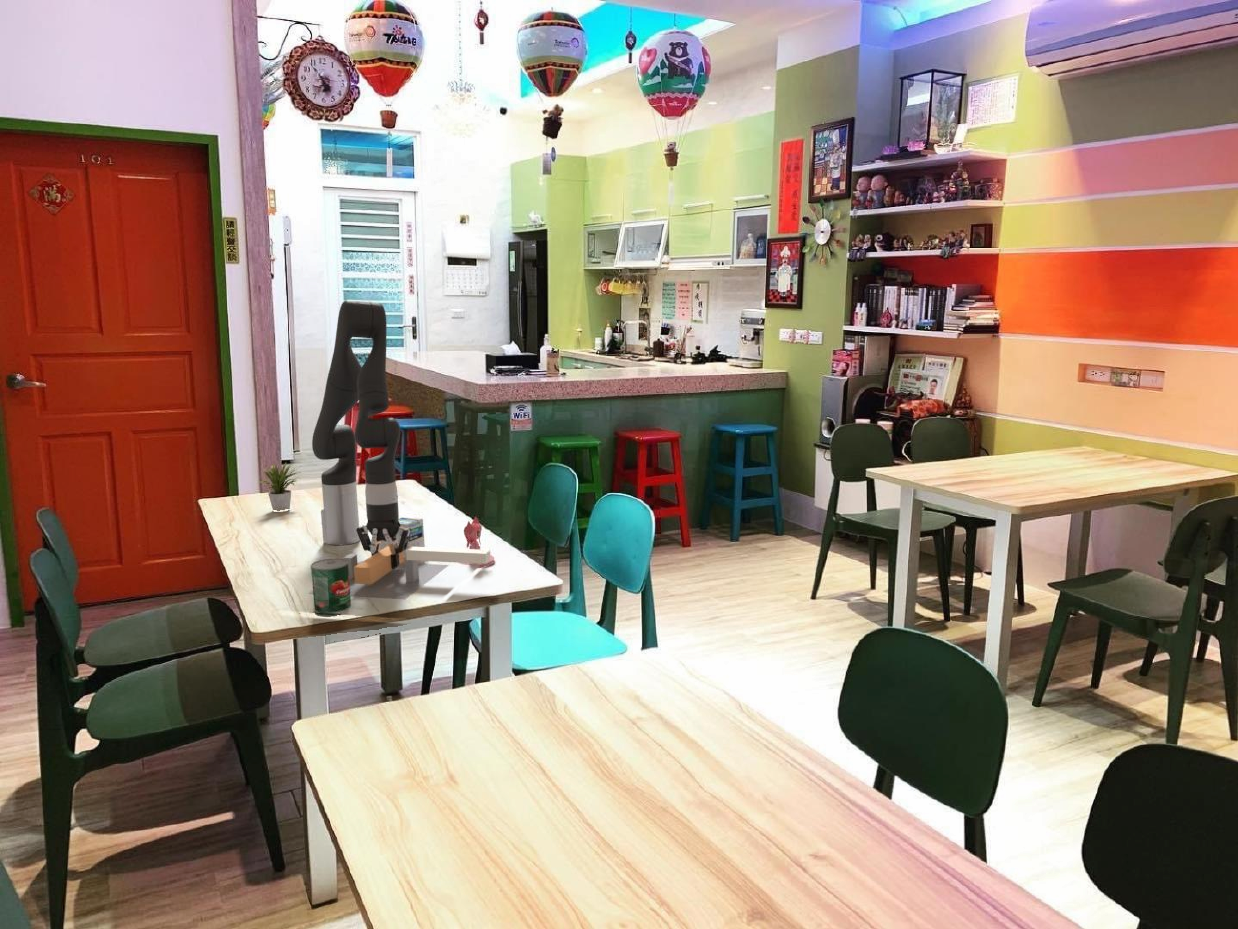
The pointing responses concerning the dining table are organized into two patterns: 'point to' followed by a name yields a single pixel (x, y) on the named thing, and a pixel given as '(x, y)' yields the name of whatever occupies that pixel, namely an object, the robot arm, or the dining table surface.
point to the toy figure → (471, 535)
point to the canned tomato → (330, 586)
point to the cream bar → (448, 555)
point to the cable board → (393, 579)
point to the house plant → (279, 487)
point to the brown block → (375, 567)
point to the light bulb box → (415, 536)
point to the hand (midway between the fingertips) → (386, 567)
